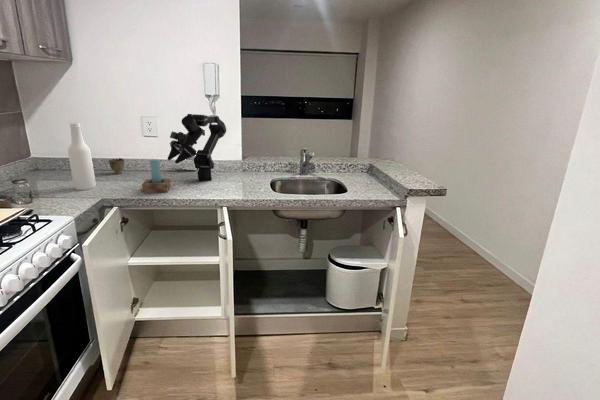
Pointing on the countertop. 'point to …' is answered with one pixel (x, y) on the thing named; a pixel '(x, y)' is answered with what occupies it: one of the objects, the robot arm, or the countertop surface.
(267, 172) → the countertop surface
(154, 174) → the peg
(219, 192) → the countertop surface
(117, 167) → the cup
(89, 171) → the alcohol
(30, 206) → the countertop surface
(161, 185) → the socket
